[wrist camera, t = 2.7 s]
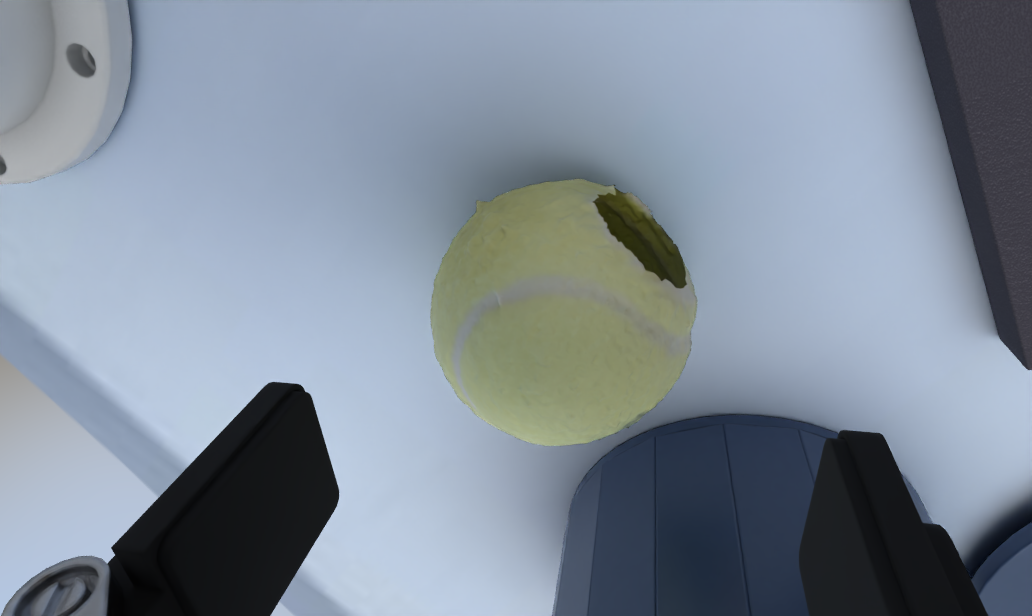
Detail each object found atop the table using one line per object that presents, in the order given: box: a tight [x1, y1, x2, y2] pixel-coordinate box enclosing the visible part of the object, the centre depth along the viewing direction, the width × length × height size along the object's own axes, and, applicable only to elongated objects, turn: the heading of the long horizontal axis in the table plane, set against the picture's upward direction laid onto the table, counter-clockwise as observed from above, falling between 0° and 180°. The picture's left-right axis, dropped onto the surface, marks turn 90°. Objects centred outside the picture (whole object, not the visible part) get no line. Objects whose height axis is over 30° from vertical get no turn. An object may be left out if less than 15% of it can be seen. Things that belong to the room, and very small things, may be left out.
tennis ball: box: [430, 179, 697, 446], centre depth 15 cm, size 6×7×7 cm
